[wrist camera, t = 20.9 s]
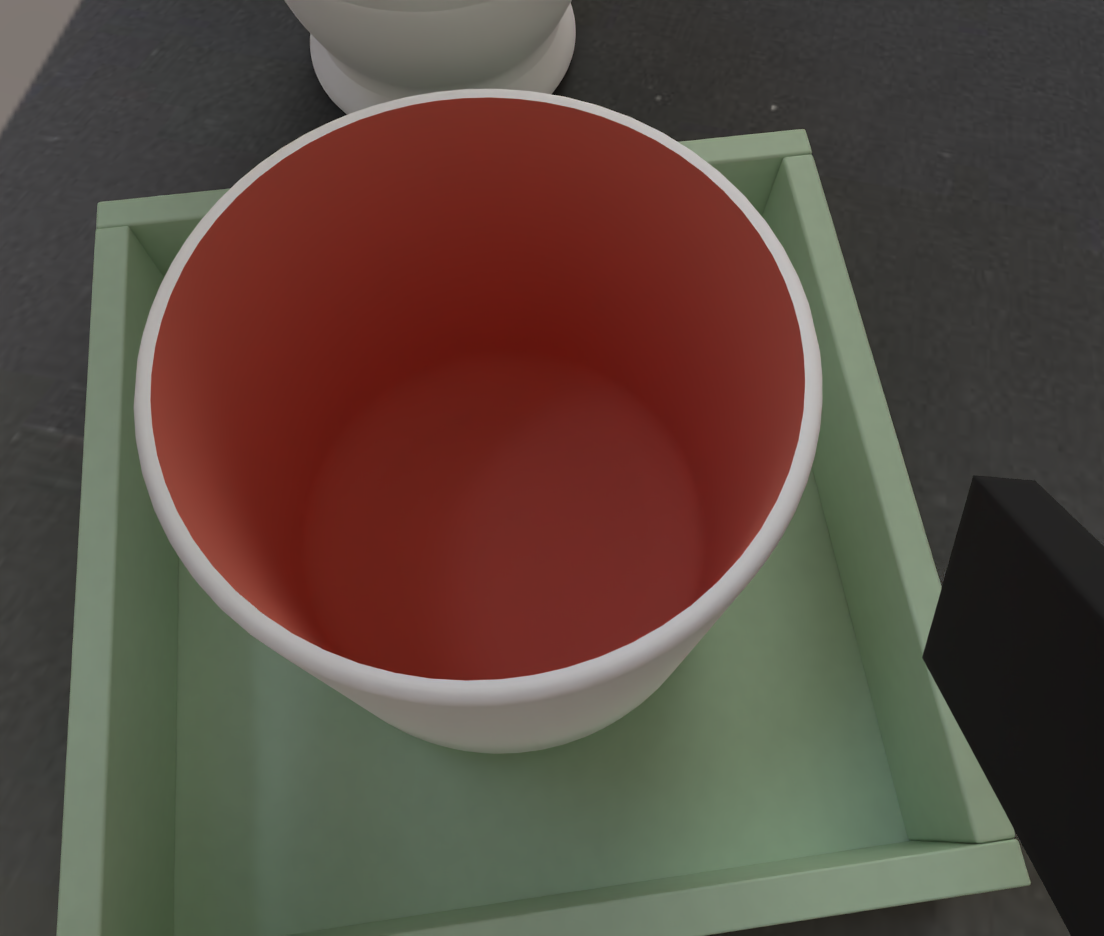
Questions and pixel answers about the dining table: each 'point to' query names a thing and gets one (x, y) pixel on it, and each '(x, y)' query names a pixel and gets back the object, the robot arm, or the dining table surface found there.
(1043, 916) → the dining table surface
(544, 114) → the cup
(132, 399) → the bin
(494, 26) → the jar
